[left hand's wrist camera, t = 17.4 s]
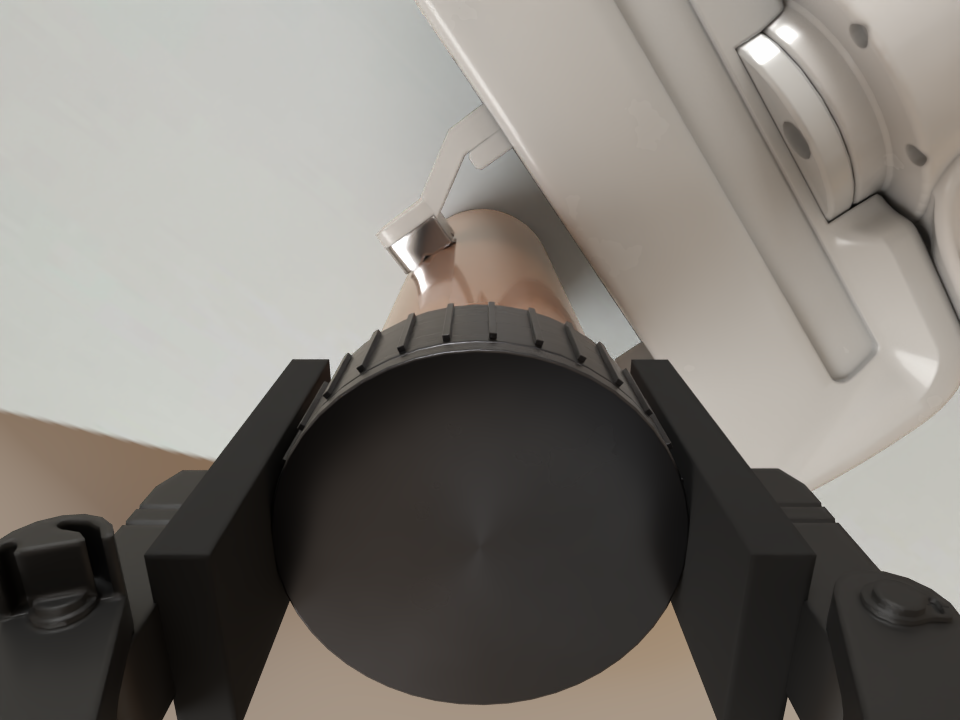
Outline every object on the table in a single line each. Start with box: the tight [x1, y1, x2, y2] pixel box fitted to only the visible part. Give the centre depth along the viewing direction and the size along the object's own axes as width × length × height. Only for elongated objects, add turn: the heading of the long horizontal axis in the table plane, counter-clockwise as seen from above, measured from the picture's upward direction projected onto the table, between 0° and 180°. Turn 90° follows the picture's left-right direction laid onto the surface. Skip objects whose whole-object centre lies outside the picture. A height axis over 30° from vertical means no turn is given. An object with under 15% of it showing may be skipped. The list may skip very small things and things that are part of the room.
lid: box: [271, 301, 689, 705], centre depth 11 cm, size 6×6×2 cm
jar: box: [381, 209, 585, 336], centre depth 19 cm, size 6×6×17 cm
